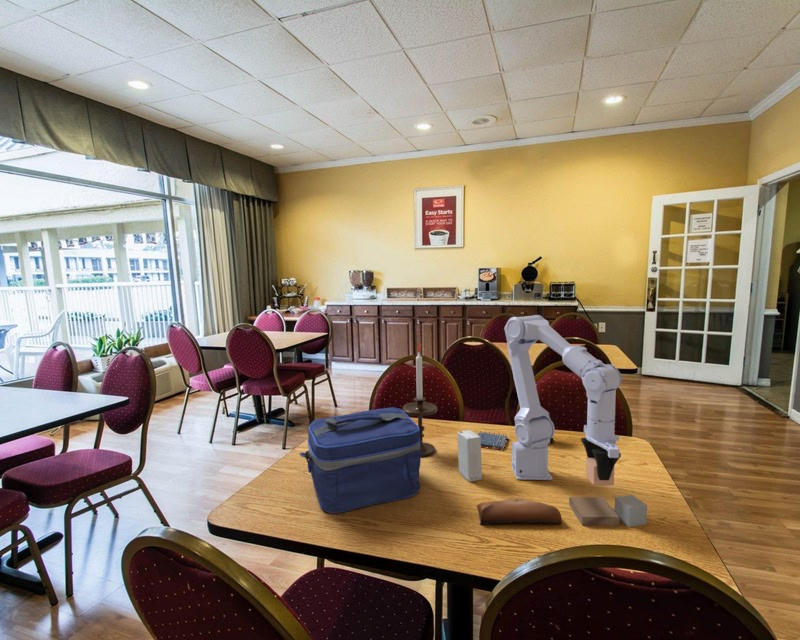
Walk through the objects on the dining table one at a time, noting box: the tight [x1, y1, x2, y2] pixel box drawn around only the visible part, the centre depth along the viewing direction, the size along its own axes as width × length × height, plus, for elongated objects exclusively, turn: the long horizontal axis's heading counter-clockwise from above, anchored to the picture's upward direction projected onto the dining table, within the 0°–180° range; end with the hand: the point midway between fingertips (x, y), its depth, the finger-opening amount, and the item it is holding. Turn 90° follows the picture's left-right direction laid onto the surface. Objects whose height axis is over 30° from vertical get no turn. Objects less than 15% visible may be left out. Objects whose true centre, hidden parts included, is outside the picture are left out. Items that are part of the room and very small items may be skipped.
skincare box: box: [457, 429, 483, 482], centre depth 112 cm, size 6×4×12 cm
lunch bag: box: [298, 406, 422, 514], centre depth 107 cm, size 31×21×20 cm
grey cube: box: [613, 494, 648, 528], centre depth 91 cm, size 4×4×4 cm
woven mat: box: [477, 430, 509, 451], centre depth 135 cm, size 10×11×2 cm
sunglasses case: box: [476, 498, 562, 525], centre depth 94 cm, size 18×7×7 cm, turn 89°
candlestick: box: [402, 343, 438, 458], centre depth 128 cm, size 11×11×35 cm
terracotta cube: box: [585, 457, 615, 486], centre depth 95 cm, size 4×4×4 cm
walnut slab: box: [568, 496, 620, 527], centre depth 93 cm, size 8×8×2 cm
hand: (599, 474), depth 95 cm, fingers closed on terracotta cube, 4 cm apart
